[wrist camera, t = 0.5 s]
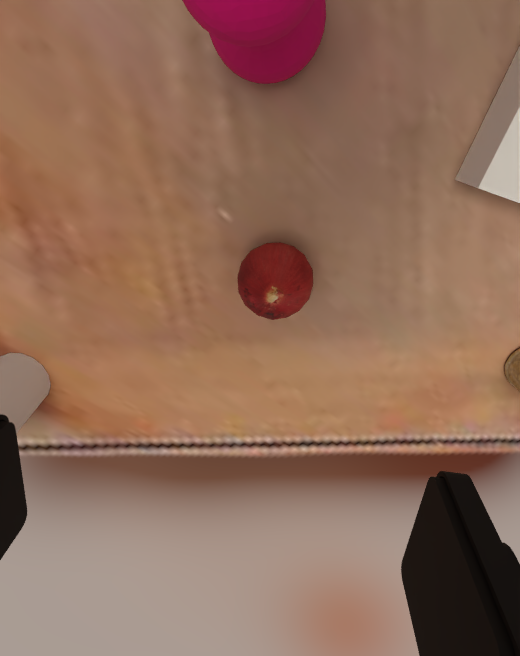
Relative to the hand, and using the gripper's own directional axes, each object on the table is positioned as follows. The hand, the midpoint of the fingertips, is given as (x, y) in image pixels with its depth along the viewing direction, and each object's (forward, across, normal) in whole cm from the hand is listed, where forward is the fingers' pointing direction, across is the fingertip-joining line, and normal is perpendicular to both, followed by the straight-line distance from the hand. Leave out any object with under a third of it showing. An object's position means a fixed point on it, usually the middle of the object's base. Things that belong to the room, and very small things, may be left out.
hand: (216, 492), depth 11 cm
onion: (+30, -1, +4) cm, 30 cm away
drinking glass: (+30, +23, +18) cm, 42 cm away
